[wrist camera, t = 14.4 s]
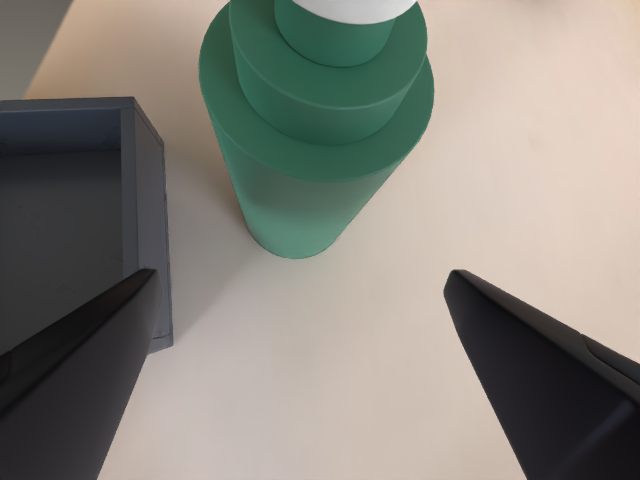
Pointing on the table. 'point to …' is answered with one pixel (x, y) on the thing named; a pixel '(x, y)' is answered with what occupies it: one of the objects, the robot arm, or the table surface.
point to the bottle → (314, 109)
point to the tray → (78, 209)
